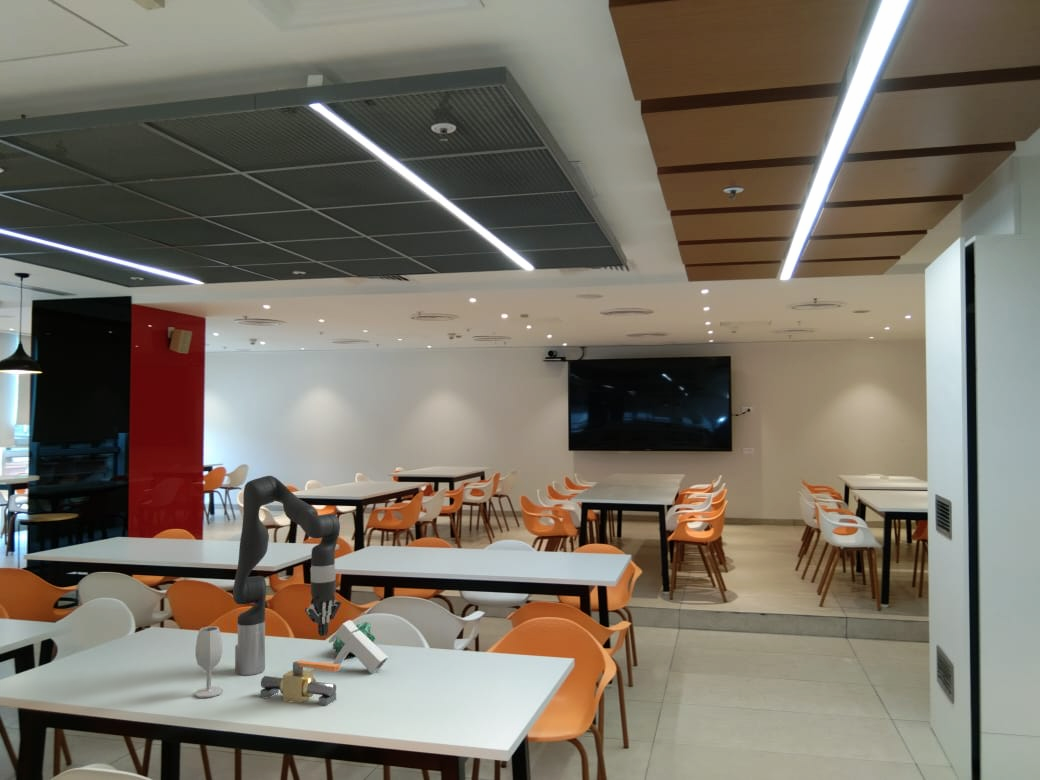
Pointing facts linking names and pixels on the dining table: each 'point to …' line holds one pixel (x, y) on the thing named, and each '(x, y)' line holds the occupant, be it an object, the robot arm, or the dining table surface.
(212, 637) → the wineglass
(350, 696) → the dining table surface
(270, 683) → the valve
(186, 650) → the dining table surface
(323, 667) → the lever
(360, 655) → the faucet
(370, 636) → the mineral
